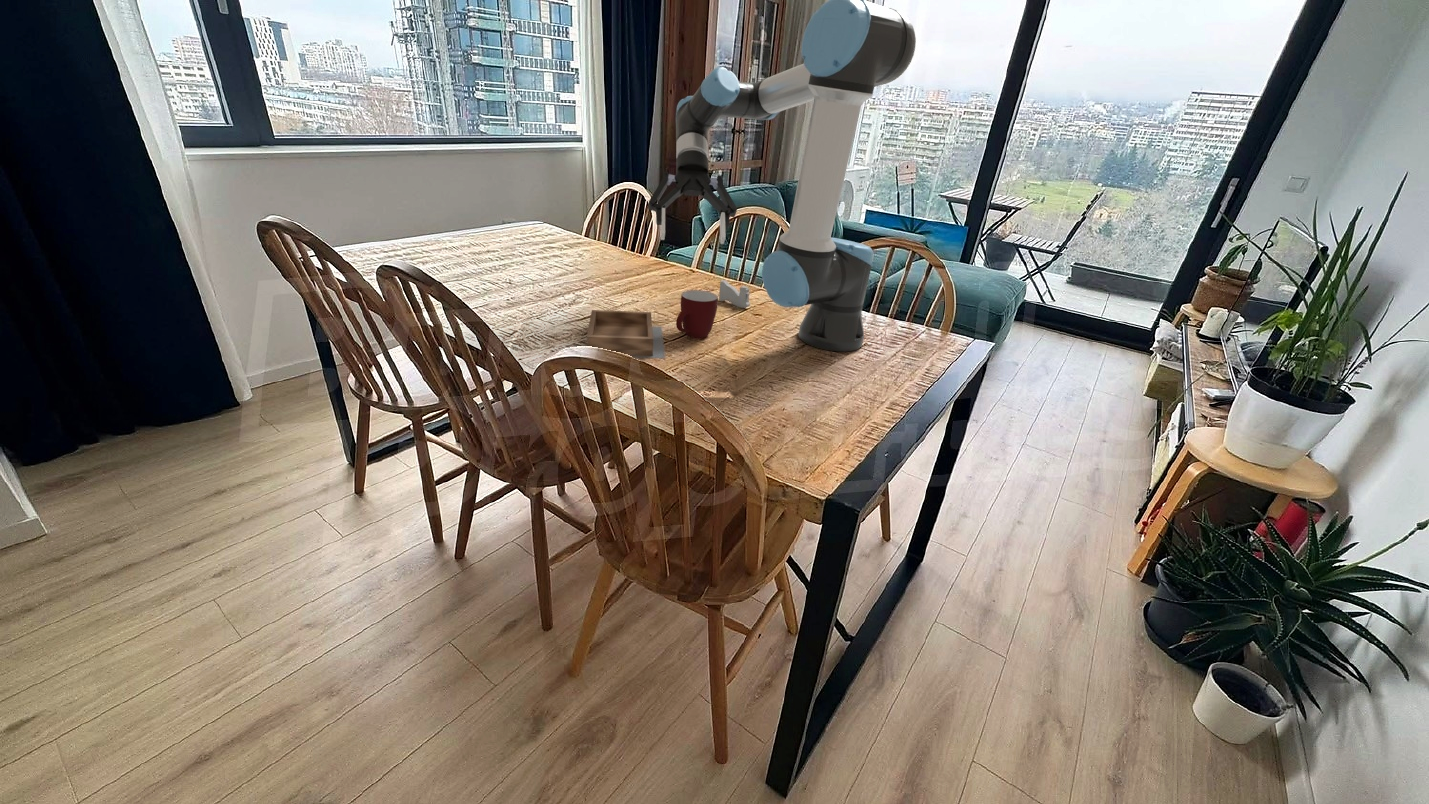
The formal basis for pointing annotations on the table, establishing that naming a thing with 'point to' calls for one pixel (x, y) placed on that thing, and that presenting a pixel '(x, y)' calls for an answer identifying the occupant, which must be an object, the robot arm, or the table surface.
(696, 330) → the mug
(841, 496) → the table surface
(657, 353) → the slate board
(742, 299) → the notched grey bracket
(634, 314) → the wooden tray
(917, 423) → the table surface
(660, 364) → the table surface
